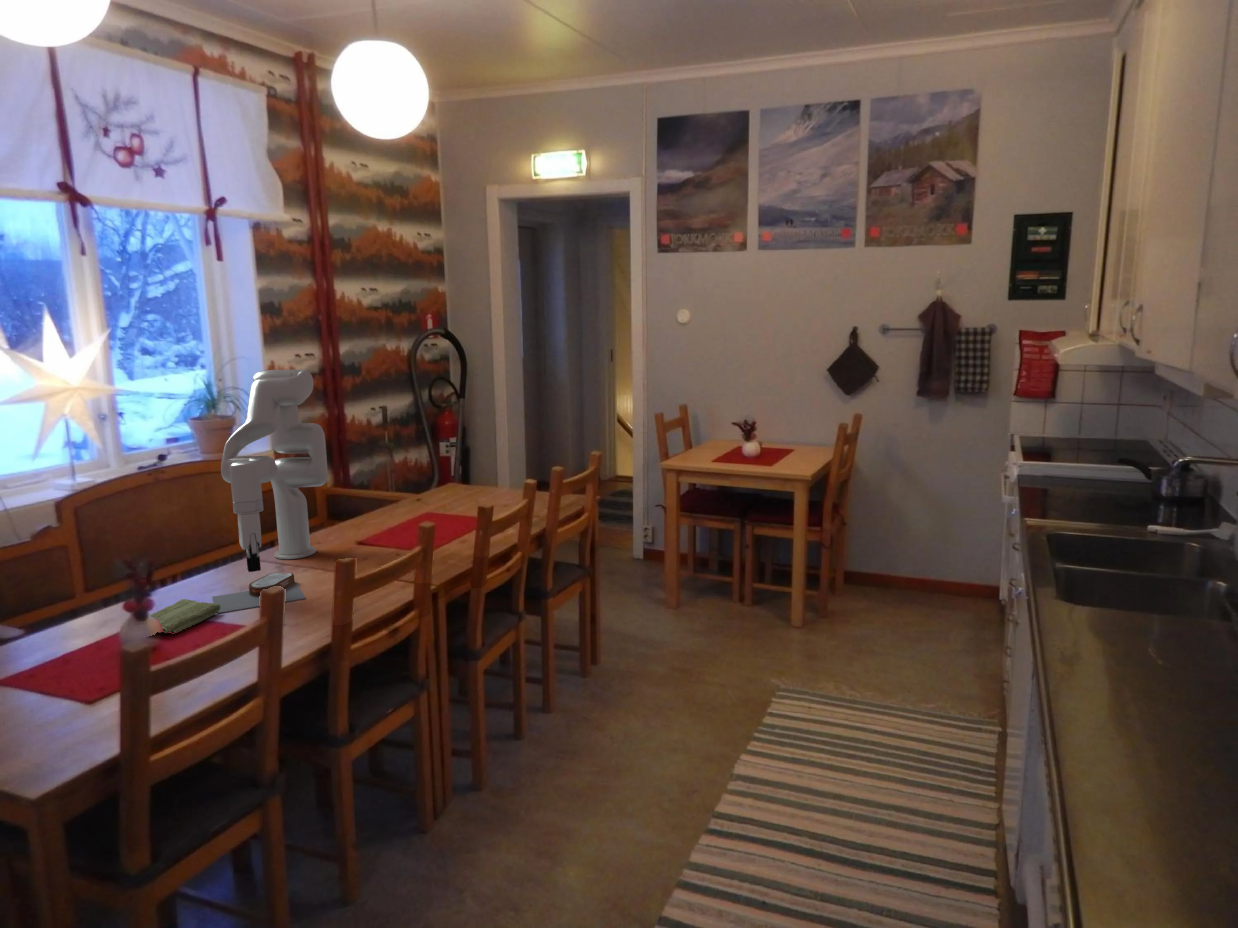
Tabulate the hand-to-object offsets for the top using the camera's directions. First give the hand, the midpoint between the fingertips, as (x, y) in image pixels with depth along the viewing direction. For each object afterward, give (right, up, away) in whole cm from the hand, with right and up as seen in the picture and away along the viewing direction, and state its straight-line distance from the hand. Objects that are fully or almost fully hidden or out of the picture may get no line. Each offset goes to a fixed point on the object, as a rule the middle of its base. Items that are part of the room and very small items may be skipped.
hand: (254, 570), depth 235 cm
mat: (+2, -7, -3) cm, 8 cm away
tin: (-1, -4, +6) cm, 7 cm away
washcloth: (-10, -11, -21) cm, 25 cm away
